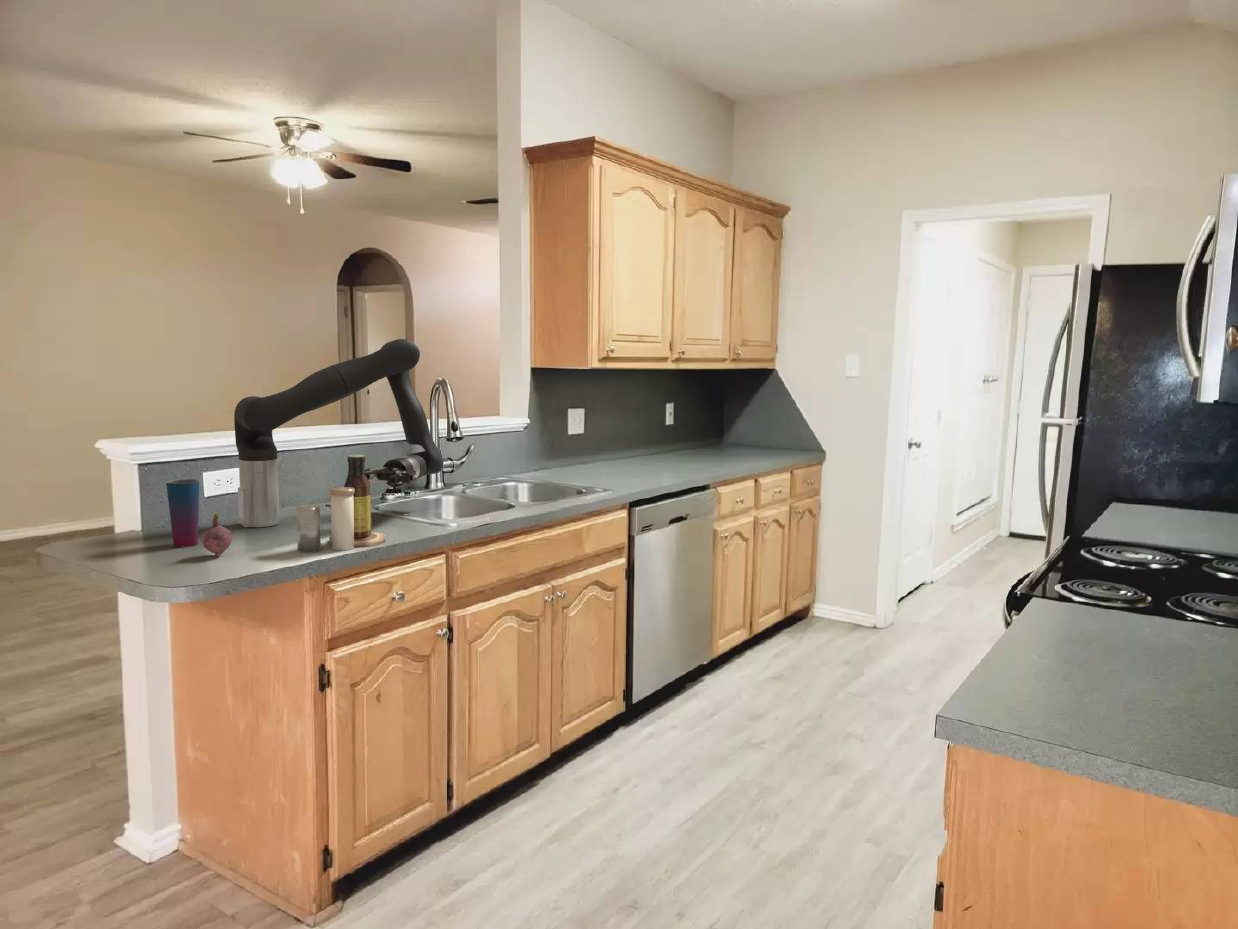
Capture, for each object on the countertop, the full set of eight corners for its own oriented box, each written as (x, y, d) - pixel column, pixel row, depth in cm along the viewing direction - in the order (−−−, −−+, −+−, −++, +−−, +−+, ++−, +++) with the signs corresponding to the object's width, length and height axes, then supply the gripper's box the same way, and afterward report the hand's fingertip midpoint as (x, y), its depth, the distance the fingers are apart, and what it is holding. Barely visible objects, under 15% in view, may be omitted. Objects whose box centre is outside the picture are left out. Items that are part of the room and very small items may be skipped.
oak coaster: (339, 549, 194) (339, 545, 194) (322, 538, 204) (322, 534, 204) (393, 543, 201) (393, 538, 201) (374, 533, 212) (374, 528, 212)
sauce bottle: (347, 533, 206) (346, 453, 203) (373, 533, 206) (372, 453, 204) (341, 539, 199) (339, 456, 197) (368, 539, 200) (366, 457, 197)
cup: (179, 549, 190) (176, 484, 188) (163, 545, 194) (159, 481, 192) (208, 544, 196) (205, 480, 194) (191, 540, 200) (188, 477, 197)
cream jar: (334, 552, 192) (333, 491, 190) (327, 547, 196) (326, 488, 194) (359, 549, 195) (358, 489, 193) (351, 544, 199) (349, 486, 197)
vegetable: (199, 560, 182) (197, 514, 180) (206, 553, 188) (204, 509, 186) (229, 559, 183) (227, 514, 182) (235, 552, 189) (233, 508, 188)
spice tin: (301, 553, 189) (300, 510, 188) (294, 549, 193) (293, 506, 192) (323, 551, 192) (322, 508, 191) (316, 546, 196) (315, 504, 195)
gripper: (376, 456, 227) (348, 464, 211) (426, 458, 225) (401, 466, 209) (376, 483, 228) (348, 493, 212) (426, 486, 226) (401, 496, 210)
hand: (374, 480), depth 211 cm, fingers open, 8 cm apart
